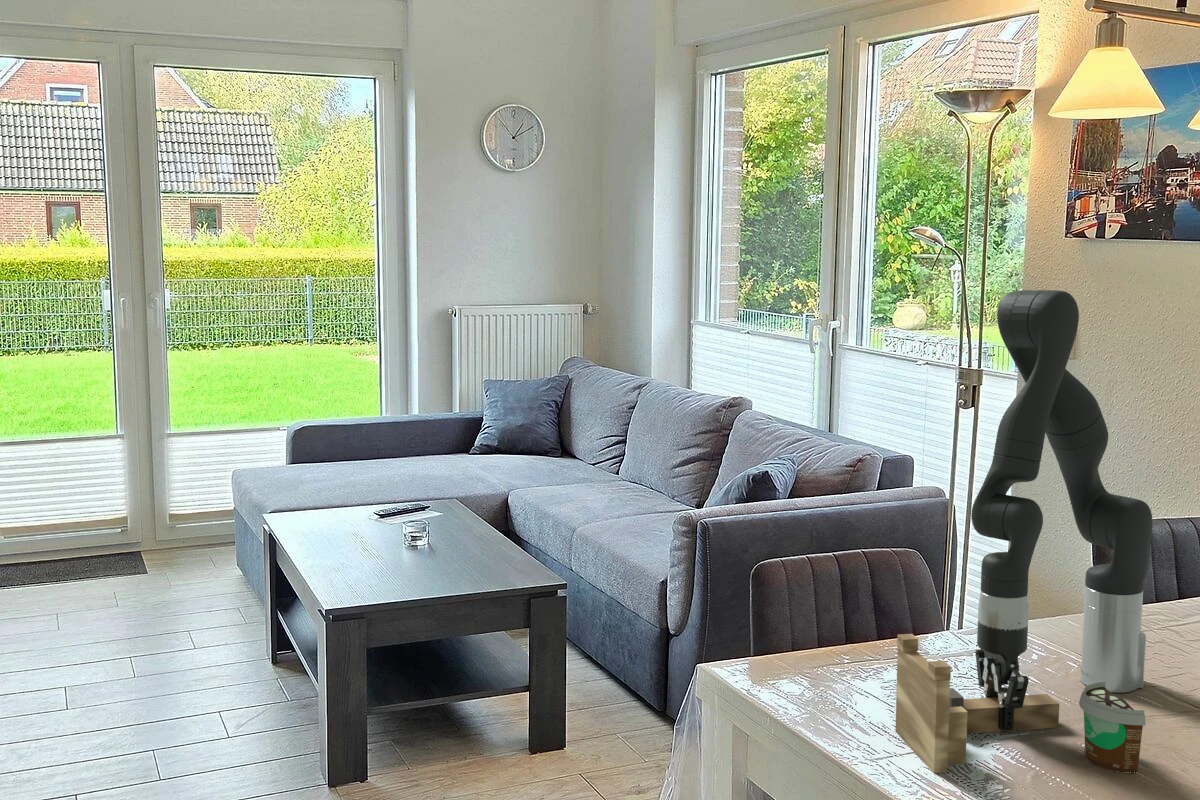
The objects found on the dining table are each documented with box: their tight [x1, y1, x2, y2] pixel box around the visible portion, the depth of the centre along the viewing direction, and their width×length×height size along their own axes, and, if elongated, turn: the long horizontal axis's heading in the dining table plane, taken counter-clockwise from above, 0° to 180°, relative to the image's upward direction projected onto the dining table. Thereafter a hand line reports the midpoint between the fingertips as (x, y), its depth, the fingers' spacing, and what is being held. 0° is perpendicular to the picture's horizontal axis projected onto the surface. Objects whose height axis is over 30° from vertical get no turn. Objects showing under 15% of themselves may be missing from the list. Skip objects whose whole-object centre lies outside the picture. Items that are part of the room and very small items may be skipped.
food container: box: [1078, 681, 1146, 774], centre depth 179 cm, size 12×6×10 cm, turn 5°
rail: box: [949, 687, 1060, 735], centre depth 192 cm, size 18×4×6 cm, turn 98°
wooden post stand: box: [895, 633, 968, 774], centre depth 182 cm, size 6×15×16 cm, turn 8°
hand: (998, 722), depth 192 cm, fingers closed on rail, 4 cm apart
